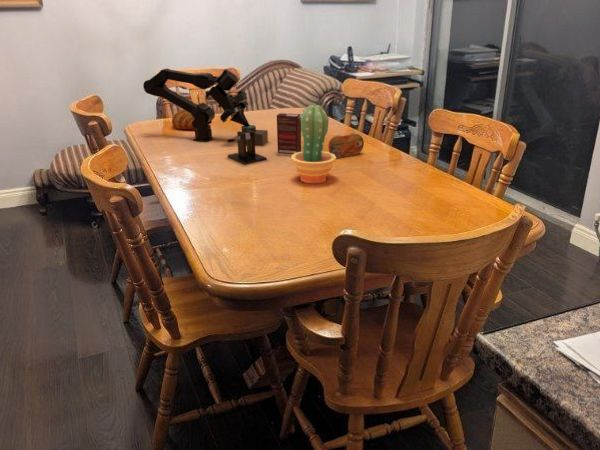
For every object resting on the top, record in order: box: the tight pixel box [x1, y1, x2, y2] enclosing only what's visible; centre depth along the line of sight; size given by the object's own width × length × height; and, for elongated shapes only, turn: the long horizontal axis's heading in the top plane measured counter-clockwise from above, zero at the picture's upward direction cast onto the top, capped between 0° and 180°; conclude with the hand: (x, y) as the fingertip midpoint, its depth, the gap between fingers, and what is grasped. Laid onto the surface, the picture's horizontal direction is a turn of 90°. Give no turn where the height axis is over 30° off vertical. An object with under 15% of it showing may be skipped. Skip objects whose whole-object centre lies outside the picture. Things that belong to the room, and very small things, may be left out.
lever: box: [226, 132, 251, 143], centre depth 202 cm, size 11×6×2 cm, turn 39°
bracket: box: [227, 130, 268, 166], centre depth 200 cm, size 12×10×11 cm
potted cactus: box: [290, 104, 337, 184], centre depth 176 cm, size 15×15×25 cm
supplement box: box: [276, 112, 302, 157], centre depth 205 cm, size 9×5×16 cm, turn 71°
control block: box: [240, 124, 269, 147], centre depth 222 cm, size 10×7×7 cm
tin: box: [327, 133, 365, 159], centre depth 205 cm, size 15×3×8 cm, turn 118°
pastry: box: [171, 109, 195, 130], centre depth 249 cm, size 21×13×8 cm, turn 33°
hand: (248, 126), depth 222 cm, fingers closed, pressing on button
